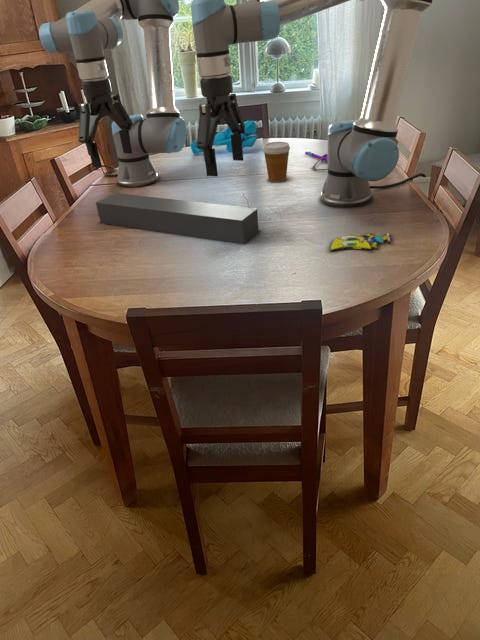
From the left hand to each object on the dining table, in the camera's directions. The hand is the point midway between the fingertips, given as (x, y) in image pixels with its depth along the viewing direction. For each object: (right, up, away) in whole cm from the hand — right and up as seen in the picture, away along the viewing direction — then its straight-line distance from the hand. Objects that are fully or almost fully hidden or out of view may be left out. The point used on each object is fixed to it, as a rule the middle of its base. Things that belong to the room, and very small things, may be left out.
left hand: (113, 159), depth 140 cm
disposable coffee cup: (+51, +4, +32) cm, 60 cm away
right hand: (+33, -8, -17) cm, 38 cm away
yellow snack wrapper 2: (+68, -27, -18) cm, 75 cm away
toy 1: (+30, +27, +71) cm, 82 cm away
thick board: (+18, -19, +2) cm, 26 cm away
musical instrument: (+69, +14, +45) cm, 83 cm away
